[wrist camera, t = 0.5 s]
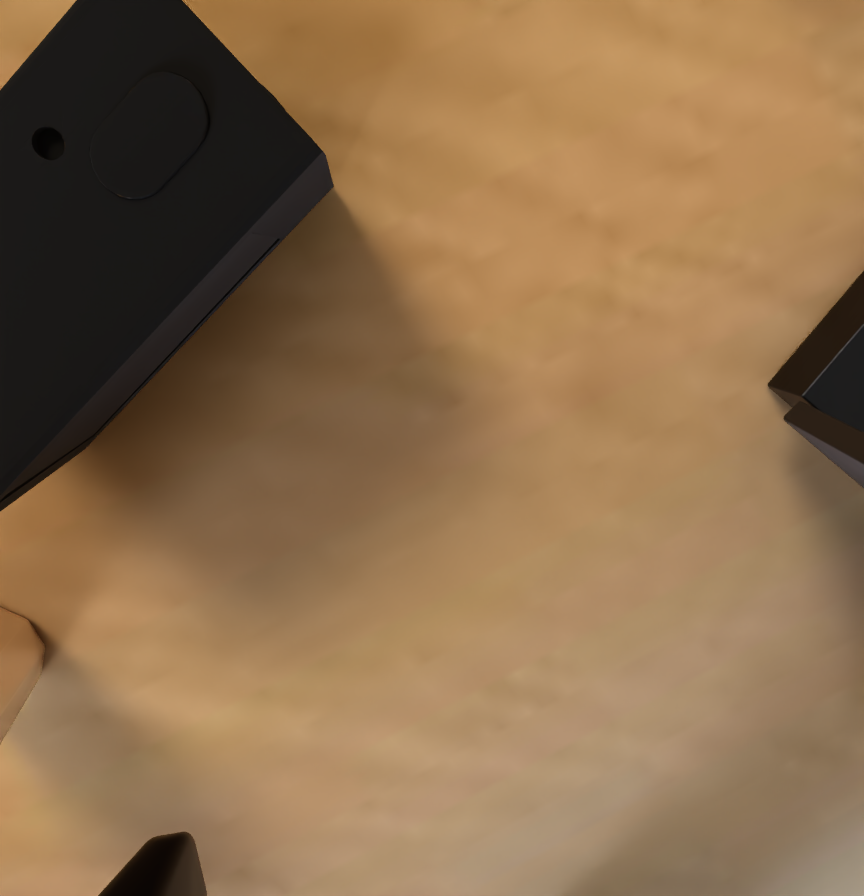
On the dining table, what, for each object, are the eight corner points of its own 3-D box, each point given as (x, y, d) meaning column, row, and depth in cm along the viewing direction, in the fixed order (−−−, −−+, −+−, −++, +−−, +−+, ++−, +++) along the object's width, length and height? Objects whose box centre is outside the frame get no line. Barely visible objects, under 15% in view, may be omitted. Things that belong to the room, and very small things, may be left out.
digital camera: (177, 14, 17) (63, -138, 10) (337, 183, 19) (327, 144, 12) (-84, 312, 18) (-336, 347, 12) (85, 449, 20) (-53, 549, 13)
